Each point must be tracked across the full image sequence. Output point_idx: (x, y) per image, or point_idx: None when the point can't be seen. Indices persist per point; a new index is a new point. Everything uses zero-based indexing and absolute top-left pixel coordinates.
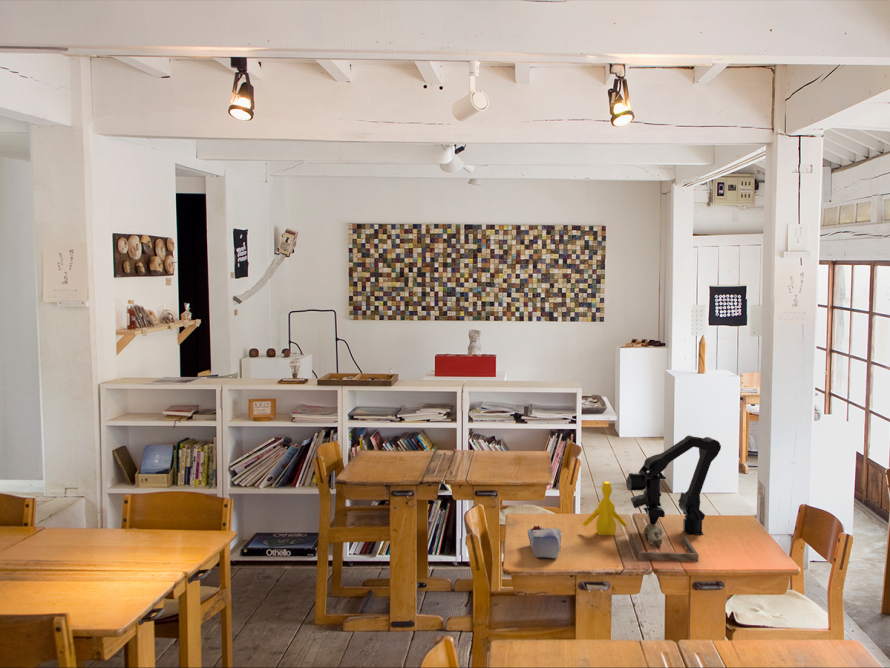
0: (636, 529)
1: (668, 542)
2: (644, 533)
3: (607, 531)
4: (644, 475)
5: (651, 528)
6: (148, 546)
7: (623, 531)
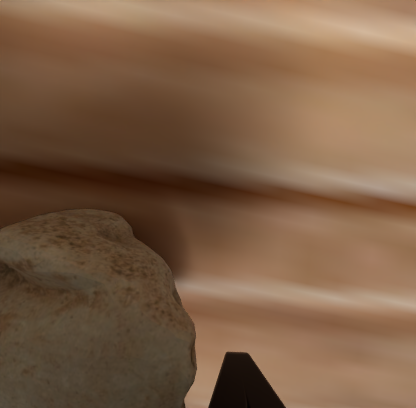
0: (370, 188)
1: None
2: (17, 223)
3: None
4: None
5: None
6: None
7: (316, 8)
